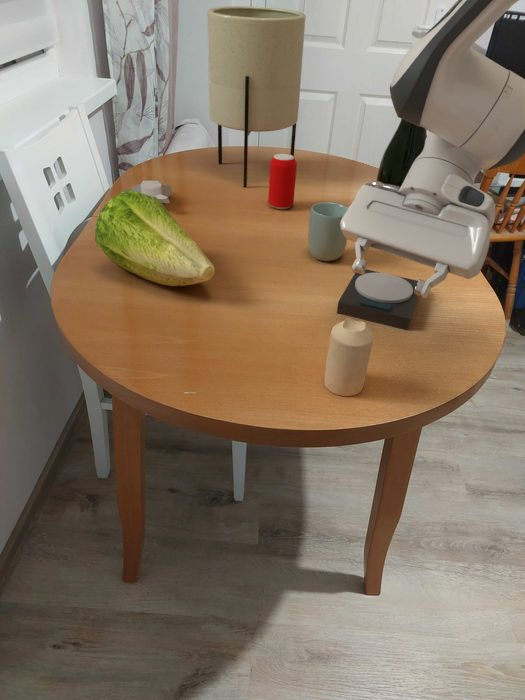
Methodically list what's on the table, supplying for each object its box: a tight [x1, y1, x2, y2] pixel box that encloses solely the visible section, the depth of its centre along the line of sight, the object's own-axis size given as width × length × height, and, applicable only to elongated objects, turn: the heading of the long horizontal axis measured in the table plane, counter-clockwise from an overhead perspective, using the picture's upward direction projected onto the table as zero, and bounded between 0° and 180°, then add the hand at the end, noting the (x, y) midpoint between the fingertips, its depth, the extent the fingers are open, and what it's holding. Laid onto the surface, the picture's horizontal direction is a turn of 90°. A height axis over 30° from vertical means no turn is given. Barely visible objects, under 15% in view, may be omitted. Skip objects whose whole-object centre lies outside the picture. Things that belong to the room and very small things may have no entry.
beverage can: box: [267, 153, 298, 211], centre depth 123 cm, size 6×6×12 cm
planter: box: [206, 5, 307, 188], centre depth 135 cm, size 23×24×39 cm
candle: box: [323, 317, 375, 397], centre depth 69 cm, size 6×6×10 cm
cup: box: [307, 201, 349, 262], centre depth 102 cm, size 8×8×10 cm
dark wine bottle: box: [375, 118, 428, 187], centre depth 105 cm, size 10×10×33 cm
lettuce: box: [94, 189, 215, 287], centre depth 91 cm, size 14×24×15 cm
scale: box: [336, 268, 420, 331], centre depth 90 cm, size 12×14×3 cm
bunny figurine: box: [130, 180, 172, 205], centre depth 123 cm, size 10×5×15 cm
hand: (387, 283), depth 71 cm, fingers open, 8 cm apart
